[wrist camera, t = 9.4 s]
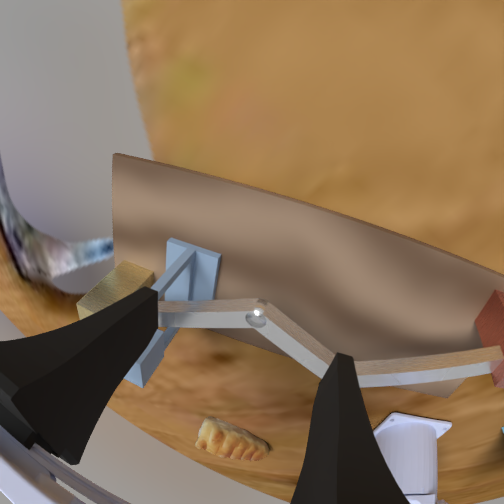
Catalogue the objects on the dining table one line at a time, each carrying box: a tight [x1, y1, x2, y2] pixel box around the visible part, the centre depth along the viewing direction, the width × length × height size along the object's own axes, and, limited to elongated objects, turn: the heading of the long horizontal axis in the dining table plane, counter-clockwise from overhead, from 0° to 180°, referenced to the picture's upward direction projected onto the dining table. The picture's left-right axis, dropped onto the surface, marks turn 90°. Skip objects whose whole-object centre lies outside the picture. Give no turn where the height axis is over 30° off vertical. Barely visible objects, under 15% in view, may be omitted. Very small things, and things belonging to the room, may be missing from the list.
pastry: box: [195, 417, 269, 461], centre depth 35 cm, size 9×7×4 cm
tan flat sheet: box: [112, 153, 504, 398], centre depth 22 cm, size 13×32×1 cm, turn 79°
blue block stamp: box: [124, 238, 221, 388], centre depth 20 cm, size 4×6×10 cm, turn 169°
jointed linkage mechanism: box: [77, 260, 504, 388], centre depth 20 cm, size 5×32×6 cm, turn 91°
